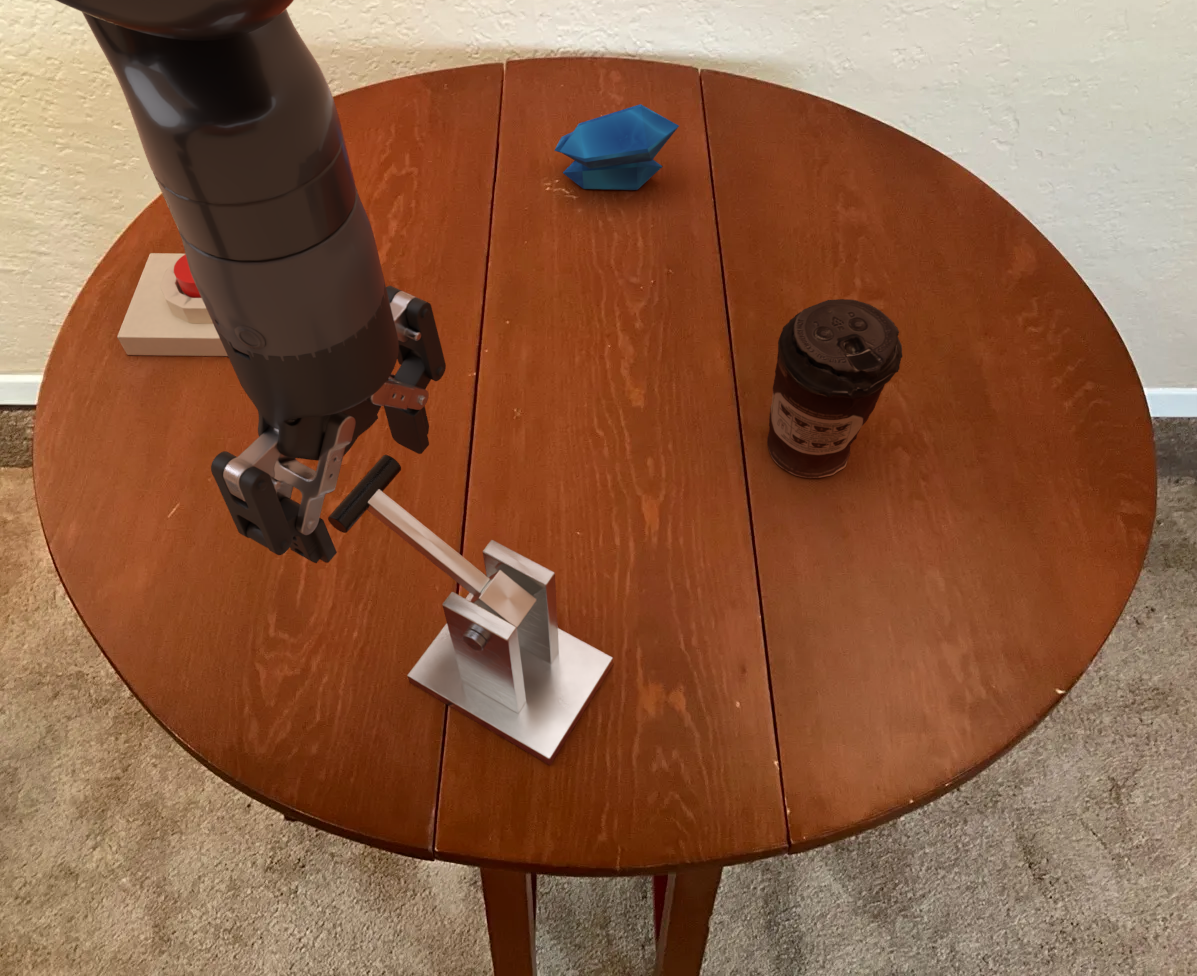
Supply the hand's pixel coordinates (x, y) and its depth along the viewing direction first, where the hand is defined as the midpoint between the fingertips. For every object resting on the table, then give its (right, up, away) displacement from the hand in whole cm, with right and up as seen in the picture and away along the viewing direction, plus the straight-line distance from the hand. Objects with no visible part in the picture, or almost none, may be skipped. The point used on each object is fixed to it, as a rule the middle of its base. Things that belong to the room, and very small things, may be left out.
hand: (366, 496), depth 55 cm
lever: (+4, -4, +1) cm, 5 cm away
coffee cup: (+30, +3, +20) cm, 36 cm away
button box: (-19, +15, +28) cm, 37 cm away
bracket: (+7, -12, +9) cm, 17 cm away
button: (-19, +18, +25) cm, 36 cm away
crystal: (+15, +30, +39) cm, 51 cm away
